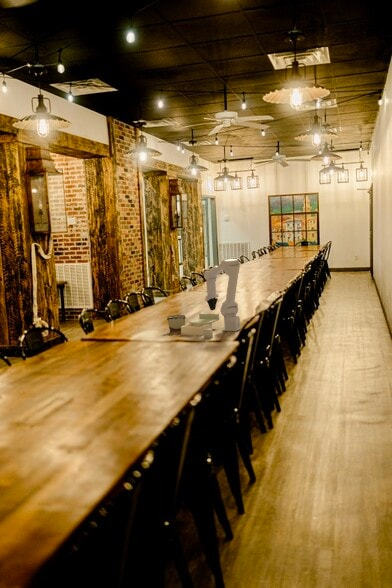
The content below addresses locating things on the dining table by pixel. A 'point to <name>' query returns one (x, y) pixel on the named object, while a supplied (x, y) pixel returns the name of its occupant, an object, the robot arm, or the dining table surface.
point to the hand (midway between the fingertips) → (212, 309)
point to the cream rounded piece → (208, 333)
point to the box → (195, 329)
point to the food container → (176, 322)
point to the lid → (206, 319)
